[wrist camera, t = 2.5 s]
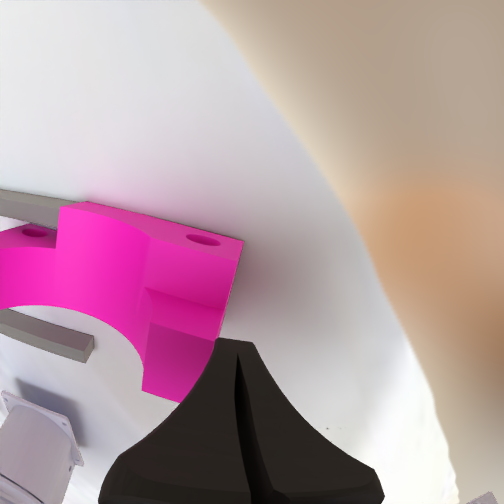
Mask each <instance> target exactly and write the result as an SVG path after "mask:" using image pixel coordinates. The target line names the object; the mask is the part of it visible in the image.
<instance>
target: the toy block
mask: <svg viewBox="0 0 504 504" xmlns="http://www.w3.org/2000/svg"><path fill="white" fill-rule="evenodd" d="M243 244H244V241H240V240H237V239H233V238H229V237H225V236H222V235H218V234H214V233H211V232H207V231H203V230H200V229H196V228H192V227H188V226H185V225H181V224H177V223H174V222H170V221H166V220H162V219H159V218H155V217H151V216H147V215H143V214H139V213H135V212H131V211H126V210H122V209H118V208H113V207H109V206H105V205H101V204H96V203H92V202H88V201H86V202H81V203H75V204H70V205H65V206H60V212H59V220H58V229H57V231H56V230H52V229H48V228H45V227H41V226H37V225H34V224H26V225H22V226H19V227H15V228H11V229H8V230H4V231H1V232H0V310H2V309H6V308H10V307H16V306H26V305H45V306H55V307H62V308H67V309H71V310H75V311H79V312H82V313H85V314H88V315H90V316H93V317H95V318H97V319H100V320H102V321H104V322H105V323H107V324H109V325H111V326H112V327H114V328H115V329H117V330H118V331H119V332H121V333H122V334H123V335H124V336H125V337H126V338H127V339H128V340H129V341H130V342H131V343H132V344H133V346H134V347H135V349H136V350H137V352H138V354H139V355H140V358H141V360H142V364H143V368H144V372H143V381H142V391H145V392H147V393H150V394H153V395H156V396H159V397H162V398H165V399H169V400H172V401H175V402H178V403H181V402H182V401H183V399H184V398H185V397H186V396H187V394H188V393H189V392H190V390H191V389H192V388H193V386H194V384H195V383H196V381H197V380H198V378H199V377H200V375H201V374H202V372H203V370H204V368H205V366H206V364H207V363H208V361H209V358H210V356H211V354H212V351H213V348H214V343H215V339H217V338H218V337H219V334H220V330H221V326H222V323H223V319H224V315H225V311H226V307H227V304H228V300H229V296H230V292H231V289H232V285H233V281H234V277H235V274H236V270H237V266H238V262H239V259H240V255H241V251H242V247H243Z"/></svg>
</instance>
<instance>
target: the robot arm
mask: <svg viewBox="0 0 504 504" xmlns="http://www.w3.org/2000/svg"><path fill="white" fill-rule="evenodd" d="M1 395H2V397H3V400H4V402H5V405H6V407H7V409H8V411H9V415H8V416H7V418H6V420H5V421H4V423H3V425H2V427H1V428H0V504H62V502H63V499H64V496H65V493H66V490H67V486H68V483H69V480H70V477H71V475H72V472H73V469H74V466H75V465H78V466H83V465H84V462H83V460H82V457H81V454H80V452H79V449H78V446H77V443H76V440H75V437H74V434H73V430H72V427H71V424H70V421H69V419H68V418H67V417H66V416H64V415H61V414H59V413H56V412H53V411H51V410H48V409H46V408H43V407H41V406H38V405H36V404H33V403H31V402H29V401H26V400H24V399H22V398H19V397H17V396H15V395H13V394H11V393H9V392H6V391H4V390H3V391H2V392H1ZM384 497H385V495H384V492H383V489H382V486H381V483H380V480H379V478H378V476H377V474H376V472H375V470H374V469H373V468H371V467H369V466H367V465H365V464H364V463H362V462H360V461H358V460H357V459H355V458H353V457H351V456H350V455H348V454H347V453H345V452H344V451H342V450H341V449H339V448H338V447H337V446H335V445H334V444H332V443H331V442H330V441H329V440H327V439H326V438H325V437H324V436H323V435H321V434H320V433H319V432H318V431H317V430H316V429H314V428H313V427H312V426H311V425H310V424H309V423H308V422H307V421H306V420H305V419H304V418H303V417H302V416H301V415H300V414H299V413H298V411H297V410H296V409H295V408H294V407H293V406H292V404H291V403H290V402H289V401H288V399H287V398H286V397H285V395H284V394H283V393H282V391H281V390H280V388H279V387H278V385H277V384H276V382H275V381H274V379H273V378H272V376H271V374H270V373H269V371H268V370H267V368H266V366H265V364H264V362H263V361H262V359H261V357H260V355H259V353H258V351H257V349H256V347H255V345H254V344H253V342H247V341H240V340H233V339H226V338H220V337H219V338H217V339H215V343H214V348H213V351H212V354H211V356H210V358H209V361H208V363H207V364H206V366H205V368H204V370H203V372H202V374H201V375H200V377H199V378H198V380H197V381H196V383H195V384H194V386H193V388H192V389H191V390H190V392H189V393H188V394H187V396H186V397H185V398H184V399H183V401H182V402H181V403H180V404H179V405H178V407H177V408H176V409H175V410H174V411H173V412H172V413H171V414H170V415H169V416H168V417H167V418H166V419H165V420H164V421H163V422H162V423H161V424H160V425H159V426H158V427H156V428H155V429H154V430H153V431H152V432H151V433H149V434H148V435H147V436H146V437H145V438H143V439H142V440H141V441H139V442H138V443H136V444H135V445H133V446H132V447H131V448H129V449H128V450H126V451H125V452H123V453H122V454H120V455H119V456H118V458H117V459H116V460H115V462H114V463H113V465H112V466H111V468H110V470H109V471H108V473H107V475H106V477H105V479H104V481H103V484H102V487H101V490H100V494H99V498H98V504H381V503H382V501H383V500H384ZM467 504H498V503H497V501H496V499H495V497H494V495H493V493H492V492H491V491H490V492H487V493H486V494H483V495H481V496H479V497H477V498H475V499H473V500H472V501H470V502H469V503H467Z"/></svg>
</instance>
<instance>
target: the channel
mask: <svg viewBox="0 0 504 504" xmlns="http://www.w3.org/2000/svg"><path fill="white" fill-rule="evenodd" d="M75 203H80V202H74V201H68V200H62V199H56V198H50V197H44V196H38V195H32V194H26V193H20V192H13V191H7V190H1V189H0V216H4V217H9V218H13V219H18V220H23V221H27V222H32V223H37V224H42V225H47V226H51V227H56V228H58V220H59V212H60V206H65V205H70V204H75ZM0 333H1V334H4V335H6V336H8V337H11V338H13V339H16V340H18V341H21V342H24V343H26V344H29V345H31V346H34V347H37V348H40V349H42V350H45V351H48V352H51V353H54V354H57V355H60V356H63V357H66V358H69V359H72V360H76V361H79V362H82V363H86V361H87V360H88V358H89V356H90V354H91V352H92V351H93V349H94V341H93V336H91V335H88V334H84V333H80V332H77V331H74V330H70V329H67V328H63V327H60V326H57V325H54V324H51V323H48V322H44V321H41V320H38V319H35V318H32V317H29V316H27V315H24V314H21V313H18V312H15V311H13V310H10V309H7V308H6V309H2V310H0Z"/></svg>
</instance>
